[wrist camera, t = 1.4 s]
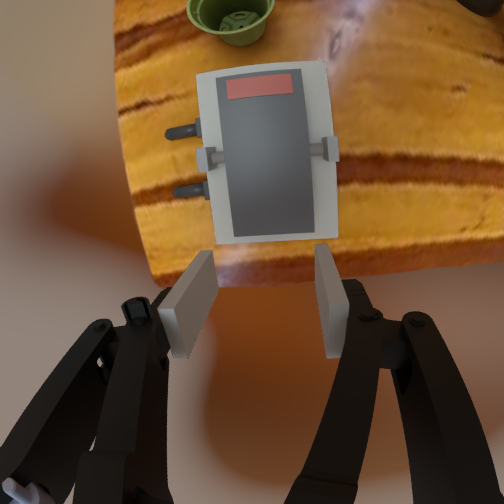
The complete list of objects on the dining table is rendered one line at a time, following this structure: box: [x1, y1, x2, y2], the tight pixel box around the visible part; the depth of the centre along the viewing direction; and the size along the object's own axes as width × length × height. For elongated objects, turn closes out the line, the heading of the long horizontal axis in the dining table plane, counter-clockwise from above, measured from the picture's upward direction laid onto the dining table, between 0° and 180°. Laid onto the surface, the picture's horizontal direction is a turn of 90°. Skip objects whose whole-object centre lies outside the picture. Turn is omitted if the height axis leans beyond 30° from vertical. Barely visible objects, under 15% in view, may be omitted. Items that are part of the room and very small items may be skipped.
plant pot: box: [187, 0, 275, 46], centre depth 24 cm, size 9×9×9 cm
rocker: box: [211, 69, 324, 237], centre depth 25 cm, size 11×16×2 cm, turn 6°
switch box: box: [165, 61, 339, 245], centre depth 30 cm, size 21×20×10 cm
